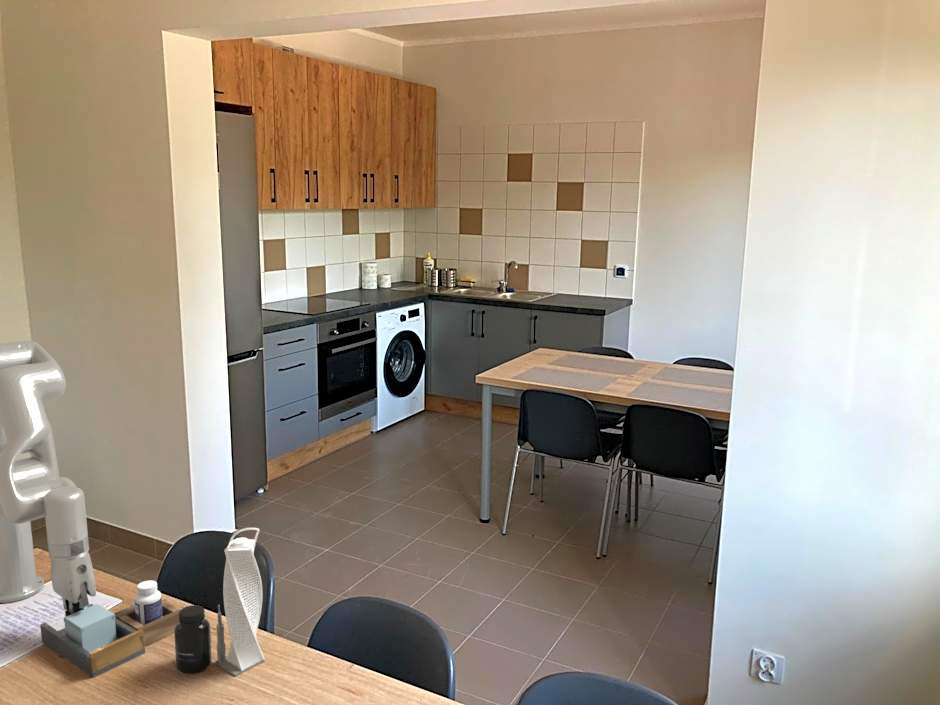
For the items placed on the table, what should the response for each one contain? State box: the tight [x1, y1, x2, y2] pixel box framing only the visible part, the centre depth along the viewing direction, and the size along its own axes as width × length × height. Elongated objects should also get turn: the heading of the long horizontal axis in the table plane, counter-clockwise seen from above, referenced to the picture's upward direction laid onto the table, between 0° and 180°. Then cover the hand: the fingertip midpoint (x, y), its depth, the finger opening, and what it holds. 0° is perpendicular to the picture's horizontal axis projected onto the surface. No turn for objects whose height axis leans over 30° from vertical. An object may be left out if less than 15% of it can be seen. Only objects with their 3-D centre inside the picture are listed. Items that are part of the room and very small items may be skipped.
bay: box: [39, 603, 146, 678], centre depth 161 cm, size 21×11×5 cm, turn 53°
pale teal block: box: [63, 603, 116, 652], centre depth 161 cm, size 7×7×6 cm
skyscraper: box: [215, 527, 266, 677], centre depth 154 cm, size 8×8×28 cm
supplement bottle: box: [173, 604, 213, 675], centre depth 154 cm, size 7×7×12 cm
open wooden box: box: [113, 599, 181, 648], centre depth 169 cm, size 14×10×4 cm
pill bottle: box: [134, 579, 163, 625], centre depth 167 cm, size 5×5×10 cm
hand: (76, 626), depth 165 cm, fingers closed
